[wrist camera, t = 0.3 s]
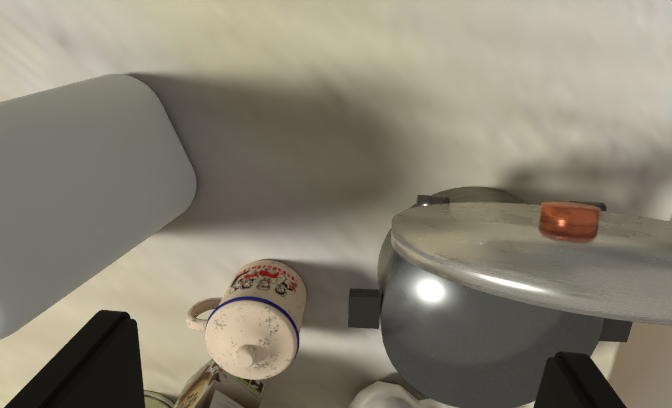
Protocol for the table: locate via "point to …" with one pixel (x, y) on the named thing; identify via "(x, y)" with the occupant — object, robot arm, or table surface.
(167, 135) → the plastic bottle
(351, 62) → the table surface
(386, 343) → the pot
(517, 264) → the lid
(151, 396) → the coffee can
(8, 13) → the table surface
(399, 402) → the potion bottle
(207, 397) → the coffee box
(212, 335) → the teacup with lid
